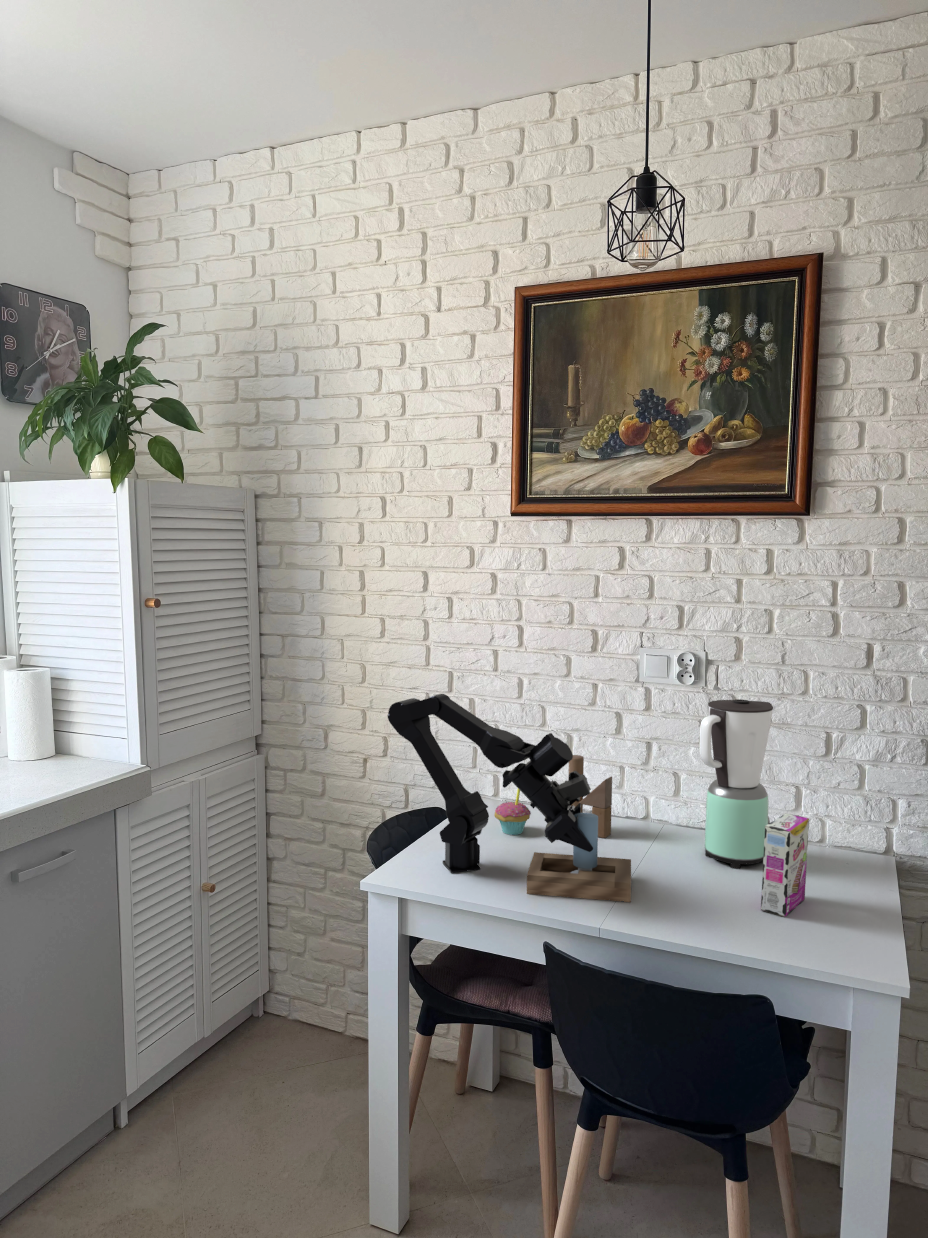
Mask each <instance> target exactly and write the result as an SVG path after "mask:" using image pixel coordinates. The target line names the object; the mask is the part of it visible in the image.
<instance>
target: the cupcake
mask: <svg viewBox="0 0 928 1238" xmlns="http://www.w3.org/2000/svg"><path fill="white" fill-rule="evenodd" d="M520 796H521V791H520V790H519V789H518V788H517V790H516V796H515V797H516V798H515V801H508V802H507V801H506V802H502V803H500V804H499V805H497V806H496V808H495V810H494V817H495V819H497V820H498V821H499V824H500V826H501V829H502V833H504V834H506V835H510V836H512V835H513V836H515V835H516V836H517V835H521V834H522V833H523V832H524V828H525V826H526V823H527V821H528V820H530V816H531V815H532V812H531V810H530V809H529V807H527V806H526V805H525V804H523V803H521V802H520V801H519V800H520Z"/></svg>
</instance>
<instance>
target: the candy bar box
mask: <svg viewBox="0 0 928 1238" xmlns="http://www.w3.org/2000/svg"><path fill="white" fill-rule="evenodd" d="M809 825H810V818H809V817H804V816H800V815H797V814H796V815H795V814H789V813H784V814H782V815H781V816H779V817H778V818H776V819H774V820H773V821H770V823H769V824H768V825H766V826H765V838H764V857H763V863H762V864H763V865H762V866H763V867H762V880H761V882H762V883H761V897H760V899H761V901H760V902H761V903H760V911H763V912H766V913H769V914H772V915H776V916H779V917H785V918H786V917H787V916H788V915H789V914H790V913H791V912H792V911H793V910H794V909H796V908H797V907H798V906H799V904H801V903H802V902H804V900H805V899H806V898H805V897H806V884H807V883H806V882H807V879H806V878H807V877H806V876H807V864H808V862H807V860H808V859H807V858H808V849H809V848H808V847H809V846H808V844H809V827H810V826H809Z"/></svg>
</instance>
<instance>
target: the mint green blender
mask: <svg viewBox="0 0 928 1238" xmlns="http://www.w3.org/2000/svg"><path fill="white" fill-rule="evenodd" d="M707 705H708V715H707V716H704V717H703V719H702V720H701V721H700V722H701V723H700V726H699V743H698V744H699V747H698V748H699V757H700V759H701V761H702V762H703V764H704V765H706V767H709V768H712V769H713V768H714V769H715V775H716V779H714V780H713V781H711V783H710V785H709V787H708V788H707V792H706V798H705V799H706V801H705V802H706V803H705V805H706V806H705V828H704V831H705V832H704V849H705V850H704V852H705V854H704V856H705V857H707V858H710V859H711V858H713V859H714V860H717V861H720V862H722V863H723V862H724V863H727V864H730V868H732V869H736V870H737V869H740V868H741V865H753V864H760V863H761V864H763V857H764V838H765V826H766V825H768V824H769V823H771V820H770V817H769V794H768V792H767V789H766V788H765V787H764V785H763V784H762V783H760V781H761V777H762V776H761V775H762V771H763V766H764V765H763V764H764V760H765V755H766V750H767V745H768V739H769V733H770V729H771V725H772V719H773V718H772V717H773V710H774V706H773V705H772V703H771V702H769V701H758V700H747V699H739V698H737V699H718V700H712V701H709V702H707ZM712 754H713V757H712Z"/></svg>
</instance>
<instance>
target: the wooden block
mask: <svg viewBox="0 0 928 1238" xmlns="http://www.w3.org/2000/svg"><path fill="white" fill-rule="evenodd" d="M584 759H585V757H584V755H583V756H582V755H579V754H573V758H572V760H571V761H569V762H568V777H567V778H568V779H567V781H568V780H569V773H571V772H573V771H577V772H578V773H579V774H580V775H582V774H583V775H584V772H585V771H584V765H585V764H584V763H585V761H584ZM612 800H613V776H612V775H611V776H609V777H608V778H605V779H603V781H602V782H601V783H599V784H598V785H597V786H596V787H595V788H594V789H592V791H590V794H589V795H587V796H585V797H580V800H579V801H578V802H577V801H575V802H574V803H573V804H572V805H574V806H575V807H576V806H577V805H578V804H579V803H581V813H584V806H589V807H591V813H592V814H595V815H597V816H598V838H599V839H606V838H608V837H610V836H611V835H612V804H613V803H612V802H613V801H612ZM572 805H571V806H572Z"/></svg>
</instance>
